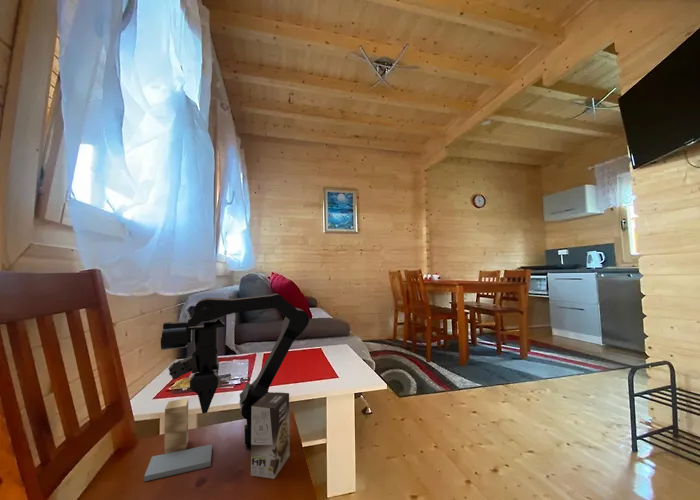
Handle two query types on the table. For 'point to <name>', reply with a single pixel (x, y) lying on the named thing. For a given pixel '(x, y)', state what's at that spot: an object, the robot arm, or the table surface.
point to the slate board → (178, 462)
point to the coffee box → (269, 434)
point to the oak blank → (176, 426)
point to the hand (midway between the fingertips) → (205, 406)
